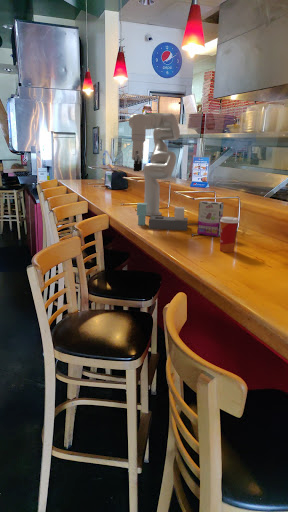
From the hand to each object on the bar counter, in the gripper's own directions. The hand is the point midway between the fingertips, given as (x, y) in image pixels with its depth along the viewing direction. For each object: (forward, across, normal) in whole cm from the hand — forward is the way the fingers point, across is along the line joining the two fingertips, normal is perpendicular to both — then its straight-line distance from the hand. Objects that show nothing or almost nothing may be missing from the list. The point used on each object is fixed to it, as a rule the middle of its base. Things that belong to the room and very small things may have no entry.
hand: (137, 170), depth 204 cm
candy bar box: (+28, +26, +40) cm, 56 cm away
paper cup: (+28, +55, +46) cm, 77 cm away
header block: (+28, +14, +19) cm, 37 cm away
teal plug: (+28, +9, +4) cm, 30 cm away
